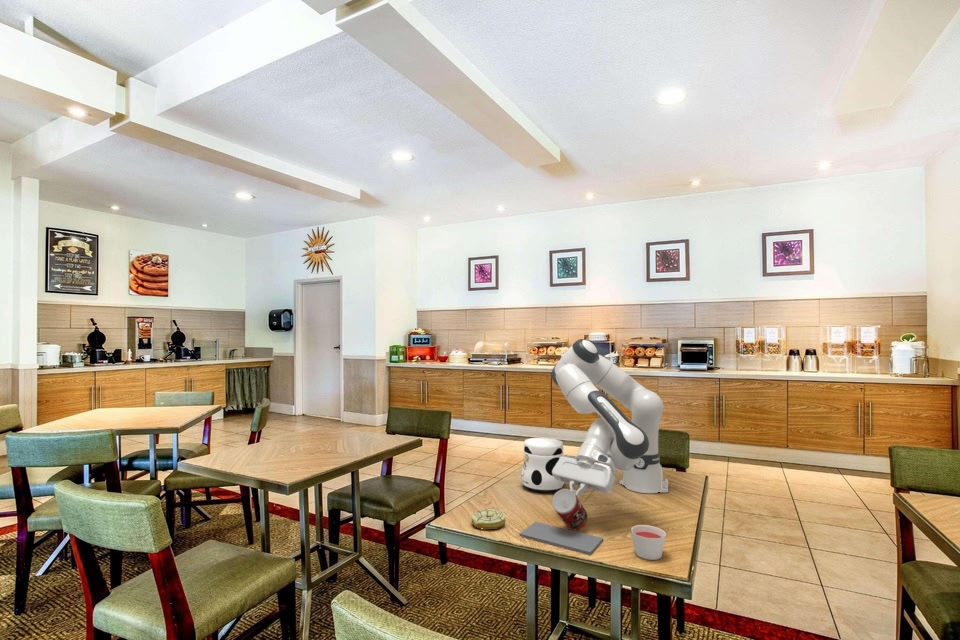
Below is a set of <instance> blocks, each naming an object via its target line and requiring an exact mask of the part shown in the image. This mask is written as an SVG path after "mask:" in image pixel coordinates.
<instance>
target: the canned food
mask: <svg viewBox="0 0 960 640" xmlns="http://www.w3.org/2000/svg"><path fill="white" fill-rule="evenodd" d="M551 505H552V508H553V510H554V511H555V513H556V514H557V515H558V516H559V517H560V519H561V521H563V523H564V524H565V525H566V526H567V527H568V528H569V529H570V530H573V531H578V530H581V529H583V528H584V527H585V526H586V525H587V523H588V517H589V516H588V512H587V510H586V509H585V507H584V505H582V502H580V500H579V498H577V497H576V495H575V494H574V493H573V492H572V491H571V490H570V488H569V489H568V488H561V489H560V490H556V491H555V493H554V495H553V497H552V500H551Z"/></svg>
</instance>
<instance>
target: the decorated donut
mask: <svg viewBox="0 0 960 640" xmlns="http://www.w3.org/2000/svg"><path fill="white" fill-rule="evenodd" d="M505 523H506V515H505V513H504V512H502V511H501V510H498V509H493V508H490V509H489V508H487V509H481V510H477V511H476V512H474V513H473V514H472V515H471V524H473V525H474V526H475V528H476V527H478V528H483V529H495V530H498V528H499V529H501V528H502V527H503V526H505ZM473 525H472V526H473ZM474 526H473V527H474ZM500 527H501V528H500ZM478 528H477V529H478Z"/></svg>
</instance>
